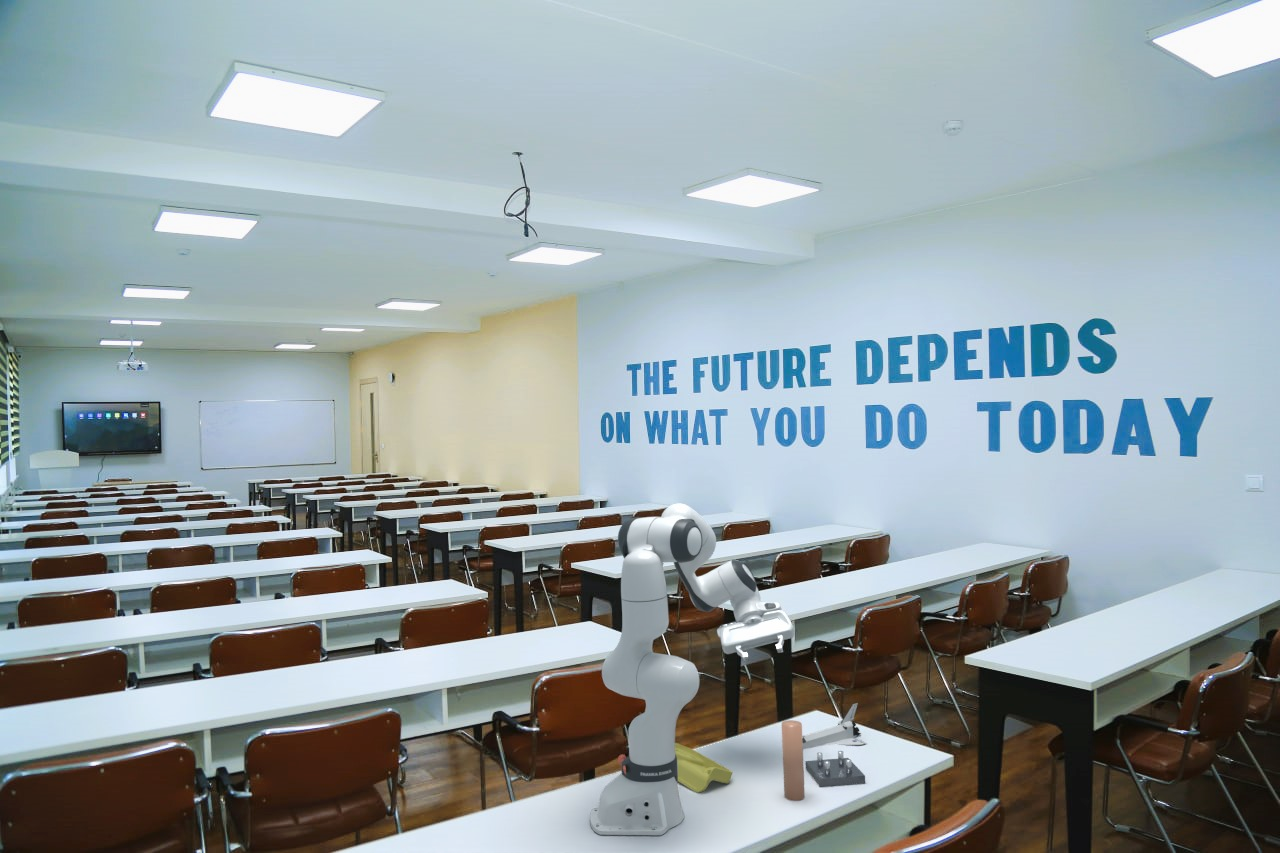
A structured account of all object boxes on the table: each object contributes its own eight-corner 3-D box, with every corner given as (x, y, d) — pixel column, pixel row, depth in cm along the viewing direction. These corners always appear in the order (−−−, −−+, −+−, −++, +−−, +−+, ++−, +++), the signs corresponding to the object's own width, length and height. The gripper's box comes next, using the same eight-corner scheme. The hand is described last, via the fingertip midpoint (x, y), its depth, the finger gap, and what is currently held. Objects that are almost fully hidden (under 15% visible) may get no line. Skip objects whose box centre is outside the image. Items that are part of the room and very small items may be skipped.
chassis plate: (820, 787, 204) (819, 767, 204) (805, 768, 215) (804, 749, 216) (865, 783, 205) (864, 763, 205) (848, 765, 217) (847, 746, 217)
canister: (787, 801, 196) (784, 727, 196) (781, 792, 201) (779, 721, 201) (807, 799, 196) (804, 726, 197) (801, 791, 201) (798, 719, 202)
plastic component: (736, 773, 208) (710, 766, 203) (726, 802, 207) (700, 795, 201) (688, 746, 224) (663, 739, 219) (679, 772, 223) (653, 765, 217)
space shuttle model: (775, 742, 236) (774, 709, 237) (842, 728, 247) (841, 695, 247) (807, 760, 222) (805, 724, 223) (876, 744, 233) (875, 710, 233)
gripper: (713, 619, 223) (723, 657, 211) (784, 601, 222) (798, 638, 210) (717, 634, 226) (727, 672, 214) (787, 616, 225) (801, 654, 214)
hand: (763, 655), depth 212 cm, fingers open, 8 cm apart
